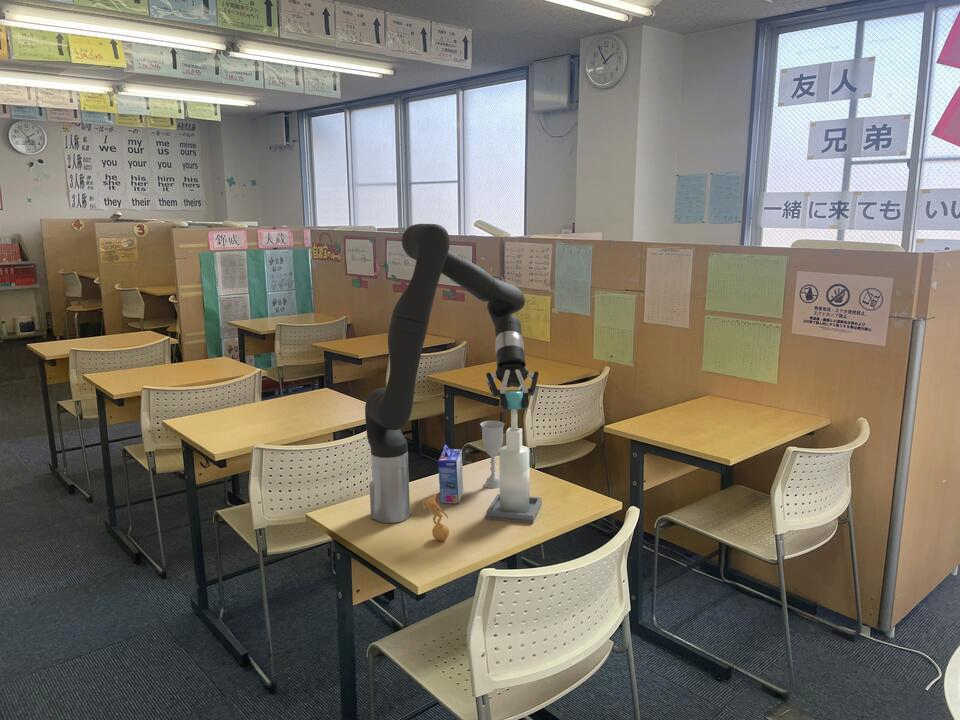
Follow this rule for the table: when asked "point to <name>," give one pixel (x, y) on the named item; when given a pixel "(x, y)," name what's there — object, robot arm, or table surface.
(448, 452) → the ink cartridge box
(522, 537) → the table surface
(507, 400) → the pump plunger
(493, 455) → the chalice
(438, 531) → the figurine
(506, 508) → the pump bottle
